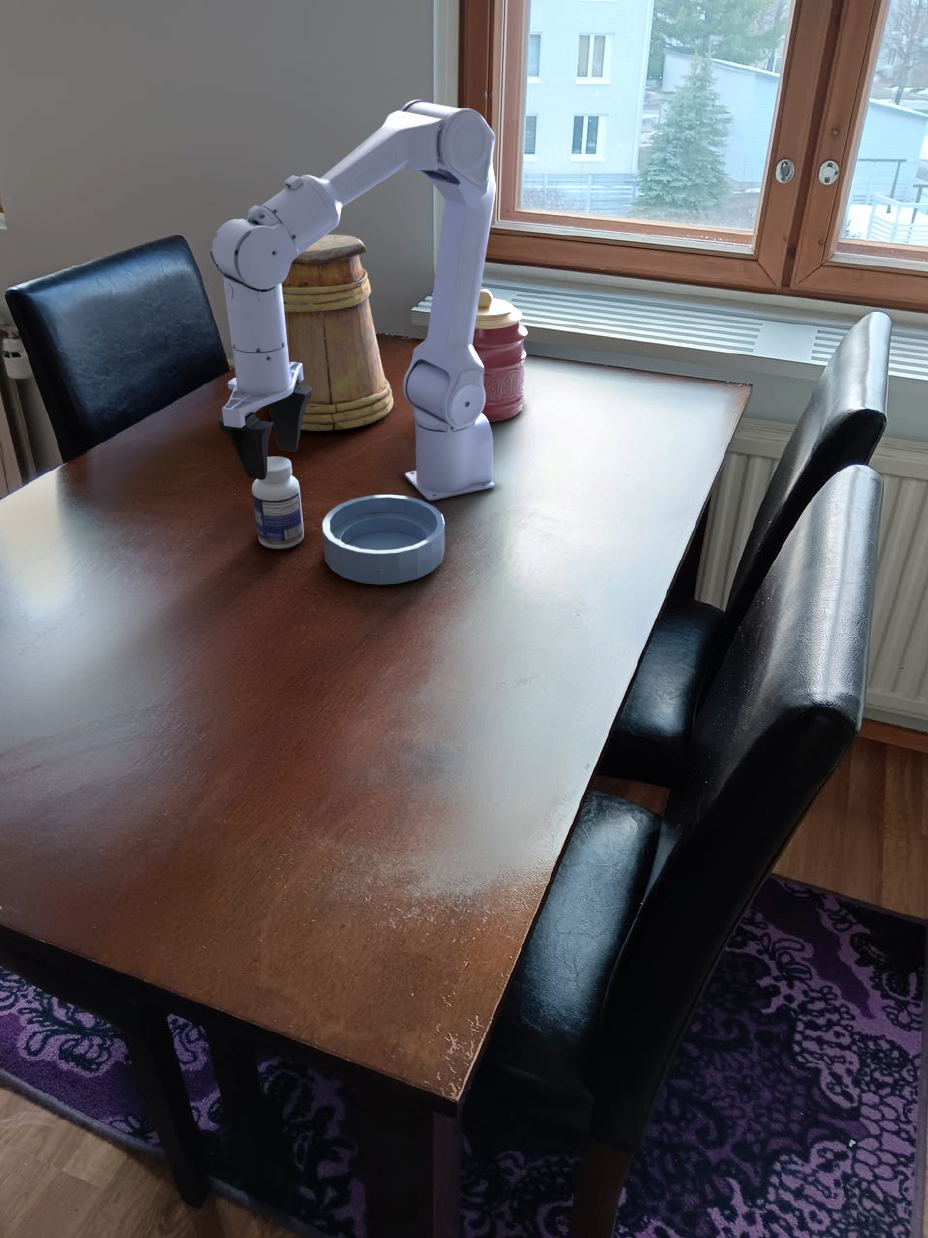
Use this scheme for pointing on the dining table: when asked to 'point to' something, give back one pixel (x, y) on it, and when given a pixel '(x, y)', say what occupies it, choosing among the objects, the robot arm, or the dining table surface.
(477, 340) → the kitchen canister
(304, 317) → the tankard
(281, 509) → the pill bottle
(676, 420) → the dining table surface
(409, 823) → the dining table surface
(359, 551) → the bowl
